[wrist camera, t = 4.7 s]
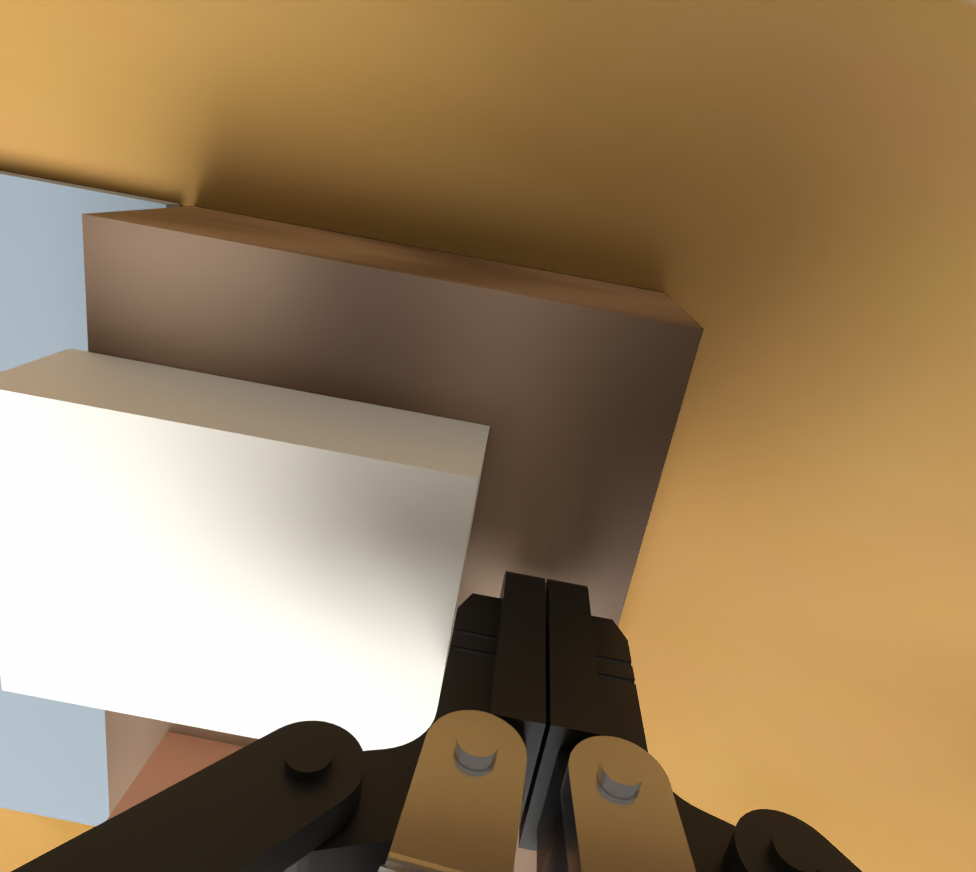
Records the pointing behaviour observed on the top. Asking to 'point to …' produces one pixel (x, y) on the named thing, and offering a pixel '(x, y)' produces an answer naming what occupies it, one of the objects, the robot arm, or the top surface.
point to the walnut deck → (416, 380)
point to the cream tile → (228, 548)
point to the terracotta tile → (172, 766)
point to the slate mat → (7, 344)
